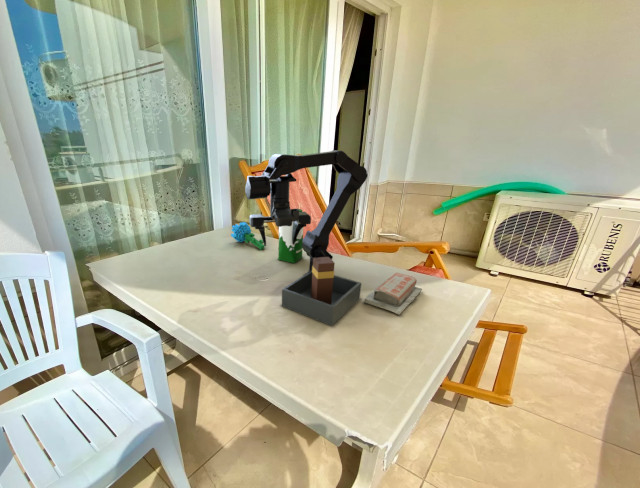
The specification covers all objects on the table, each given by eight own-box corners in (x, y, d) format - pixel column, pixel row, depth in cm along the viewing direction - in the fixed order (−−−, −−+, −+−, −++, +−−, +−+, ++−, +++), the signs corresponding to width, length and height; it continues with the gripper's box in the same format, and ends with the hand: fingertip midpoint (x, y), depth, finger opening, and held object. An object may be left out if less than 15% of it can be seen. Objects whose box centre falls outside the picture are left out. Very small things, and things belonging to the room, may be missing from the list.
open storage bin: (312, 284, 100) (313, 269, 98) (359, 299, 90) (361, 282, 88) (281, 305, 88) (281, 289, 86) (331, 326, 78) (333, 307, 76)
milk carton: (295, 264, 115) (297, 213, 108) (274, 260, 120) (275, 210, 113) (305, 257, 122) (307, 208, 115) (285, 253, 127) (286, 206, 120)
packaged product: (390, 268, 98) (424, 277, 91) (388, 282, 99) (421, 292, 93) (365, 288, 86) (402, 300, 79) (363, 303, 88) (399, 316, 81)
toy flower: (253, 258, 131) (229, 239, 143) (268, 253, 137) (243, 235, 148) (256, 241, 127) (231, 222, 138) (272, 236, 132) (246, 219, 143)
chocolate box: (310, 298, 90) (312, 257, 86) (325, 296, 91) (328, 256, 86) (315, 306, 86) (318, 264, 82) (331, 304, 86) (335, 262, 82)
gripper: (252, 203, 85) (253, 255, 90) (317, 200, 86) (315, 251, 91) (248, 196, 95) (249, 243, 101) (306, 193, 96) (304, 240, 102)
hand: (279, 244), depth 98 cm, fingers open, 9 cm apart
